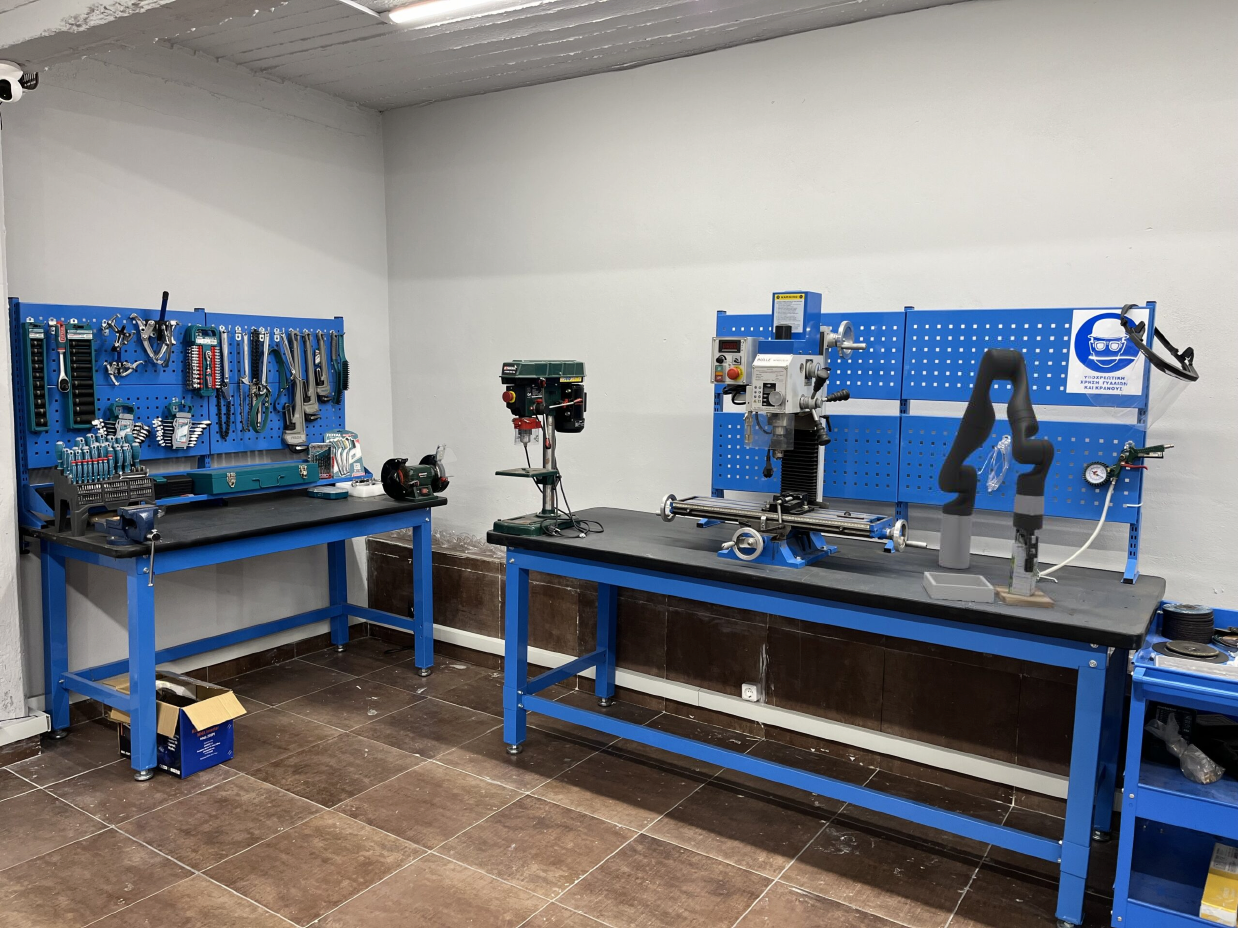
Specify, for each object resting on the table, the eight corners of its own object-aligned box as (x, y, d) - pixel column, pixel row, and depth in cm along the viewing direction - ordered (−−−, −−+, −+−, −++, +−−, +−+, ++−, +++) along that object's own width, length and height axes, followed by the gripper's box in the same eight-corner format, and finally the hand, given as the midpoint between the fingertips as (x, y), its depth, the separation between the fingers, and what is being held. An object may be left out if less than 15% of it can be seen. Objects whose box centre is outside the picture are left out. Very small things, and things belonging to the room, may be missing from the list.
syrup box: (1013, 589, 248) (1017, 539, 246) (1036, 593, 244) (1039, 542, 242) (1007, 593, 243) (1011, 542, 242) (1030, 597, 240) (1034, 545, 238)
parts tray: (923, 585, 257) (924, 571, 256) (980, 589, 254) (981, 575, 254) (932, 598, 241) (933, 584, 241) (993, 602, 238) (994, 588, 238)
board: (992, 590, 252) (992, 585, 252) (1036, 593, 250) (1037, 588, 250) (1006, 604, 237) (1006, 599, 237) (1053, 608, 235) (1054, 602, 234)
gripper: (1007, 506, 249) (1003, 562, 250) (1020, 514, 235) (1016, 573, 236) (1035, 508, 247) (1031, 564, 249) (1050, 515, 233) (1046, 575, 235)
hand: (1024, 568), depth 243 cm, fingers open, 8 cm apart
